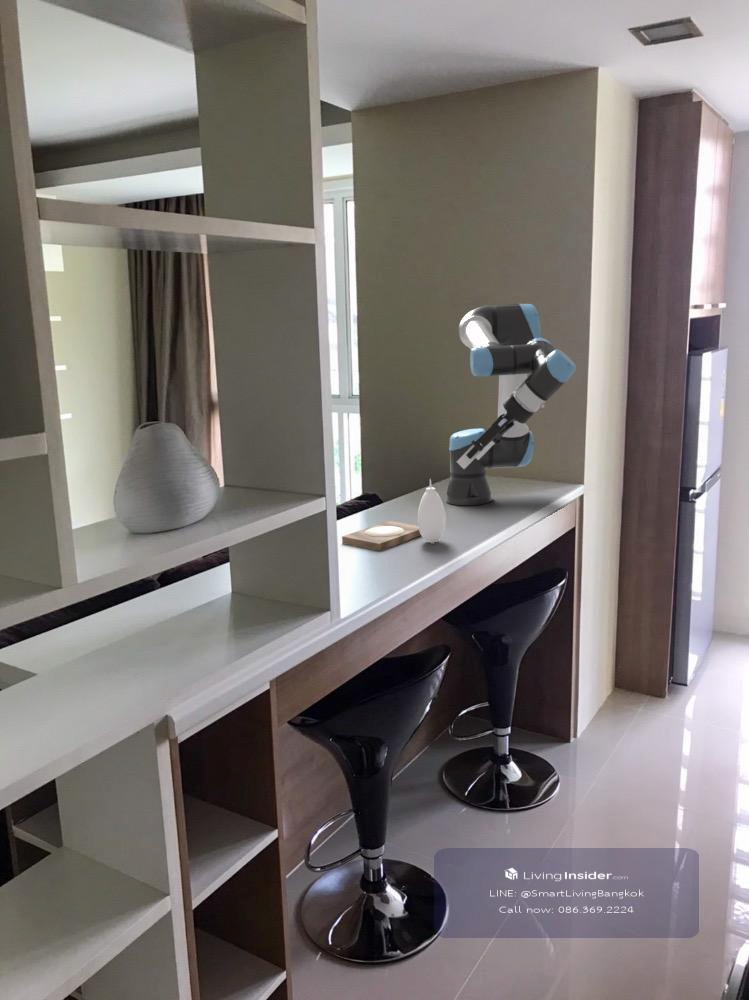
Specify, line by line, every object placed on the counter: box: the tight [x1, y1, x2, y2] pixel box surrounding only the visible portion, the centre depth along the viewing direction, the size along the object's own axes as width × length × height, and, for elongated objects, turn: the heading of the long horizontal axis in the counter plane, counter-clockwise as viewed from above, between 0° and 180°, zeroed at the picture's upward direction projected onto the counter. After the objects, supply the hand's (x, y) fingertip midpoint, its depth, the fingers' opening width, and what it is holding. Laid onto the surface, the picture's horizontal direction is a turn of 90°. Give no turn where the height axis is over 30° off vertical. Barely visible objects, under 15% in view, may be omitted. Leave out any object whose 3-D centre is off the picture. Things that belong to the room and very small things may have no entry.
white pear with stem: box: [416, 478, 447, 544], centre depth 226 cm, size 8×8×18 cm
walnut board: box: [341, 520, 421, 552], centre depth 235 cm, size 20×14×2 cm
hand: (467, 460), depth 219 cm, fingers open, 13 cm apart
